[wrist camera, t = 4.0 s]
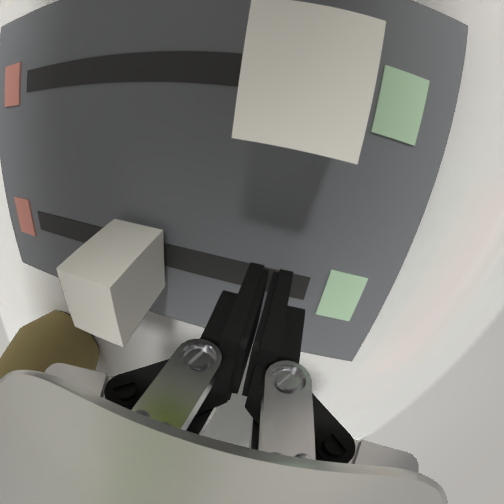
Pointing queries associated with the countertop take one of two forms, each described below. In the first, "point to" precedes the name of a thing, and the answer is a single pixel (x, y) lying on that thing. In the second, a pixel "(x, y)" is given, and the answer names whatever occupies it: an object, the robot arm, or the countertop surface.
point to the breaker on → (308, 77)
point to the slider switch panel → (219, 155)
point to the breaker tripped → (114, 279)
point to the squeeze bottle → (49, 345)
